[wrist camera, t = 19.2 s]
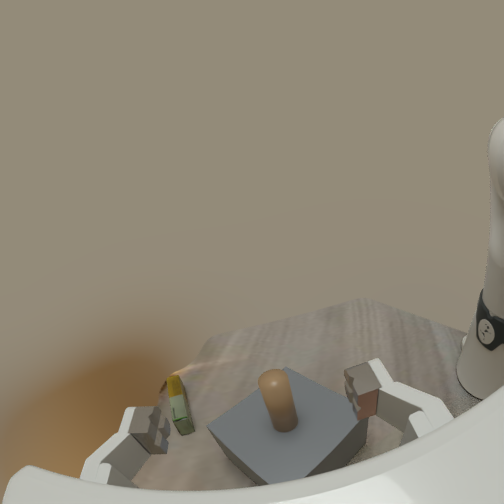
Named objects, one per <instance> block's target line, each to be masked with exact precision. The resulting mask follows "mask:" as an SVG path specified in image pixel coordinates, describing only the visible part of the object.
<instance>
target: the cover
mask: <svg viewBox="0 0 504 504" xmlns="http://www.w3.org/2000/svg"><path fill="white" fill-rule="evenodd" d="M258 385H259V388H258V389H257V390H256V391H254V392H253V393H252V394H250V395H249V396H248V397H246V398H245V399H244V400H242V401H241V402H240V403H238V404H237V405H235V406H234V407H233V408H231V409H230V410H228V411H227V412H226V413H224V414H223V415H221V416H220V417H218V418H217V419H215V420H214V421H212V422H211V423H210V424H208V425H206V426H207V428H208V429H209V431H210V432H211V434H212V435H213V437H214V438H215V440H216V441H217V443H218V444H219V446H220V447H221V449H222V450H223V452H224V453H225V454H226V456H227V457H228V458H229V459H230V460H231V461H232V462H233V463H234V464H235V465H236V466H237V467H238V468H240V469H241V470H242V471H243V472H244V473H245V474H246V475H247V476H248V477H249V478H251V479H252V480H253V481H254V482H255V483H256V484H257V485H259V486H263V485H269V484H276V483H281V482H287V481H292V480H297V479H301V478H306V477H310V476H314V475H318V474H322V473H326V472H329V471H333V470H337V469H340V468H343V467H345V466H346V464H347V463H348V462H349V461H350V460H351V459H352V458H353V457H354V456H355V454H356V453H357V452H358V451H359V450H360V449H361V448H362V446H363V445H364V444H365V443H366V436H367V428H368V419H369V417H367V418H364V419H361V420H358V421H357V419H356V417H355V414H354V412H353V410H352V403H350V402H349V400H348V398H346V397H344V396H342V395H340V394H338V393H336V392H334V391H332V390H330V389H328V388H326V387H324V386H322V385H320V384H318V383H316V382H314V381H312V380H310V379H308V378H306V377H304V376H302V375H301V374H299V373H297V372H295V371H293V370H291V369H289V368H288V367H285V368H284V369H282V370H280V369H272V370H268V371H266V372H264V373H263V374H262V375H261V376H260V377H259V379H258Z"/></svg>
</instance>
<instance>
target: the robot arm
mask: <svg viewBox="0 0 504 504" xmlns="http://www.w3.org/2000/svg"><path fill="white" fill-rule="evenodd" d="M488 160H489V171H490V192H491V193H490V199H491V208H490V209H491V210H490V233H489V247H488V258H487V266H486V274H485V281H484V288H483V289H482V291H481V293H480V297H479V300H478V304H477V310H476V311H475V313H474V316H473V319H472V322H471V325H470V328H469V331H468V334H467V336H465V337H464V338H463V340H462V343H461V348H462V352H461V355H460V357H459V359H458V362H457V376H458V379H459V381H460V383H461V384H462V386H463V387H464V388H465V389H466V390H467V391H468V392H469V393H470V394H472V395H473V396H475V397H477V398H480V399H483V401H481V402H480V403H478V404H477V405H475V406H474V407H472V408H471V409H469V410H468V411H466V412H464V413H463V414H461V415H459V416H458V417H456V418H455V419H454V418H453V416H452V415H451V413H450V412H449V410H448V409H447V407H446V406H445V405H444V403H443V402H442V400H441V399H439V398H437V397H434V396H432V395H429V394H427V393H424V392H422V391H419V390H417V389H414V388H412V387H409V386H407V385H405V384H402V383H400V382H395V383H394V381H393V380H392V378H391V377H390V375H389V373H388V372H387V370H386V369H385V367H384V365H383V364H382V362H381V361H380V359H378V358H376V359H373V360H371V361H368V362H365V363H362V364H359V365H356V366H353V367H350V368H347V369H345V370H344V376H345V378H346V381H345V390H346V394H347V397H348V400H349V402H350V403H352V410H353V412H354V414H355V417H356V419H357V421H358V420H361V419H364V418H367V417H370V416H373V415H376V416H378V417H380V418H381V419H383V420H384V421H386V422H387V423H389V424H391V425H392V426H394V427H396V428H397V429H399V430H400V431H402V432H404V435H403V438H402V440H401V443H400V447H398V448H395V449H393V450H390V451H388V452H386V453H383V454H381V455H378V456H375V457H373V458H370V459H367V460H364V461H362V462H359V463H356V464H353V465H350V466H346V467H343V468H340V469H337V470H333V471H329V472H326V473H322V474H318V475H314V476H310V477H306V478H301V479H297V480H292V481H287V482H281V483H276V484H269V485H263V486H255V487H247V488H238V489H226V490H208V491H167V490H150V489H139V487H138V486H137V485H135V484H134V483H133V482H131V480H132V479H133V478H134V476H135V475H136V474H137V472H138V471H139V470H140V469H141V467H142V466H143V465H144V463H145V462H146V461H147V460H148V458H149V457H150V456H151V455H150V454H167V449H168V441H167V440H166V439H167V438H168V436H169V435H170V424H169V421H168V419H167V418H166V417H165V416H163V415H161V410H160V409H159V407H158V406H152V407H128V408H127V409H126V410H125V413H124V416H123V420H122V422H121V426H120V429H119V432H118V433H115V434H114V435H113V436H112V437H111V438H110V439H109V440H107V441H106V442H105V443H104V444H103V445H102V446H101V447H100V448H99V449H97V450H96V451H95V452H94V453H93V454H92V455H91V456H90V457H88V458H87V459H86V461H85V464H84V467H83V470H82V473H81V476H80V479H78V478H74V477H70V476H66V475H62V474H58V473H55V472H51V471H48V470H44V469H41V468H38V467H36V466H32V465H27V466H25V467H24V468H22V469H21V470H20V471H18V472H17V473H16V474H15V475H14V476H12V478H11V479H10V481H9V483H8V485H7V489H6V492H5V495H4V498H3V502H2V504H504V117H503V118H502V119H500V120H499V121H497V123H496V124H495V125H494V126H493V128H492V130H491V132H490V135H489V139H488Z"/></svg>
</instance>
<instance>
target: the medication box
mask: <svg viewBox="0 0 504 504" xmlns="http://www.w3.org/2000/svg"><path fill="white" fill-rule="evenodd" d="M167 387H168V394H169V400H170V406H171V413H172V419H173V423H174V425H175V426H176V428H177V430H178V431H179V433H180V434H181V435H186V434H190V433H192V432H195V430H194V426H193V422H192V418H191V414H190V410H189V405H188V401H187V397H186V392H185V388H184V385H183V383H182V381H181V379H180V377H179V375H176V376H172V377H169V378H167Z"/></svg>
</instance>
